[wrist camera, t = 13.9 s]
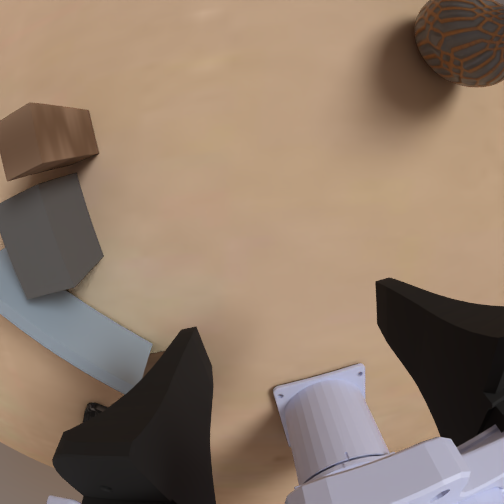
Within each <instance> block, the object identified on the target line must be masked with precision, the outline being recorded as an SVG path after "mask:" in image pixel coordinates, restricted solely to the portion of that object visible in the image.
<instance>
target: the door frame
mask: <svg viewBox="0 0 504 504" xmlns="http://www.w3.org/2000/svg"><path fill="white" fill-rule="evenodd" d="M98 153H99V151H98V147H97V143H96V139H95V135H94V130H93V126H92V122H91V118H90V113H89V110H83V109H77V108H70V107H63V106H55V105H47V104H39V103H28V104H26V105H25V106H23V107H21V108H20V109H18V110H16V111H15V112H13V113H11V114H10V115H8V116H7V117H5V118H4V119H2V120H1V121H0V154H1V158H2V163H3V167H4V171H5V175H6V179H7V181H10V180H14V179H17V178H21V177H25V176H28V175H32V174H36V173H40V172H44V171H48V170H52V169H56V168H60V167H64V166H69V165H71V164H74V163H76V162H78V161H81V160H83V159H86V158H88V157H91V156H93V155H96V154H98ZM164 352H165V351H163V352H157V353H151V354H149V357H148V360H147V364H146V367H145V370H144V374H143V377H144V376H145V375H146V374H147V373H148V371H149V370H150V369H151V368H152V367H153V366H154V364H155V363H156V362H157V361H158V360H159V358H160V357H161V356H162V355H163V353H164ZM143 377H142V378H143Z"/></svg>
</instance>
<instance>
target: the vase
mask: <svg viewBox="0 0 504 504" xmlns="http://www.w3.org/2000/svg"><path fill="white" fill-rule="evenodd" d="M415 39H416V43H417V46H418V49H419V51H420V53H421V55H422V57H423V58H424V60H425V61H426V63H427V64H428V65H429V66H430V67H431V68H432V69H433V70H434V71H435V72H436V73H437V74H438V75H440V76H441V77H443V78H444V79H446V80H448V81H450V82H453V83H455V84H458V85H462V86H467V87H486V86H491V85H494V84H497V83H499V82H501V81H503V80H504V5H503V4H500V3H498V2H497V1H494V0H429V1H428V2H427V3H426V4H425V5H424V6H423V7H422V9H421V10H420V12H419V14H418V16H417V19H416V22H415Z"/></svg>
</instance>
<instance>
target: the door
mask: <svg viewBox="0 0 504 504" xmlns="http://www.w3.org/2000/svg"><path fill="white" fill-rule="evenodd" d="M0 314H1V315H3V316H4V317H5V318H6V319H8V320H9V321H10V322H12V323H13V324H14V325H15V326H17V327H18V328H19V329H21V330H22V331H23V332H25V333H26V334H27V335H29V336H30V337H32V338H33V339H34V340H36V341H37V342H39V343H40V344H42V345H43V346H44V347H46V348H47V349H49V350H50V351H52V352H53V353H55V354H56V355H58V356H59V357H61V358H63V359H64V360H66V361H67V362H69V363H70V364H72V365H74V366H75V367H77V368H79V369H80V370H82V371H83V372H85V373H87V374H89V375H90V376H92V377H94V378H95V379H97V380H99V381H101V382H103V383H104V384H106V385H108V386H110V387H112V388H113V389H115V390H117V391H119V392H121V393H123V394H126V393H128V392H129V391H130V390H131V389H132V388H133V387H134V386H135V385H136V384H137V383H138V382H139V381H140V380H141V379H142V377H143V374H144V370H145V367H146V364H147V360H148V357H149V354H150V351H151V347H152V343H150V342H149V341H147V340H145V339H143V338H141V337H140V336H138V335H136V334H134V333H133V332H131V331H129V330H128V329H126V328H124V327H122V326H121V325H119V324H117V323H116V322H114V321H112V320H111V319H109V318H108V317H106V316H104V315H103V314H101V313H100V312H98V311H96V310H95V309H93V308H92V307H90V306H89V305H87V304H85V303H84V302H82V301H81V300H79V299H78V298H76V297H75V296H73V295H72V294H70V293H69V292H67V291H66V290H62V291H58V292H55V293H51V294H47V295H43V296H39V297H35V298H32V299H28V300H27V298H26V295H25V293H24V291H23V289H22V287H21V284H20V282H19V280H18V277H17V275H16V273H15V270H14V268H13V265H12V263H11V260H10V258H9V255H8V253H7V250H6V247H5V248H4V249H2V250H1V251H0Z"/></svg>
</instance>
